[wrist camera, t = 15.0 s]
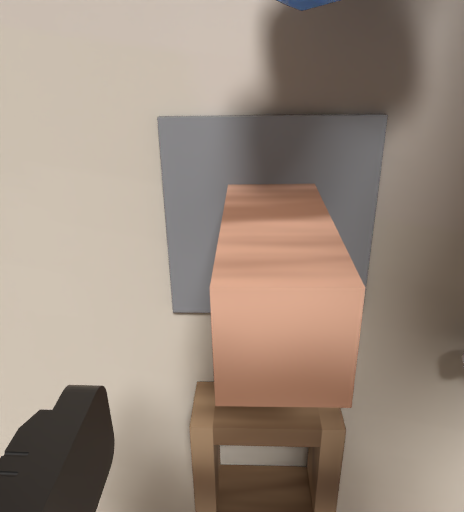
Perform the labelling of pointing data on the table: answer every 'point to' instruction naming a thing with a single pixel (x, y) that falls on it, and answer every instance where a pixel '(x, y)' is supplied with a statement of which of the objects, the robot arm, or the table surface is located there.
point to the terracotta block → (283, 301)
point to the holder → (264, 477)
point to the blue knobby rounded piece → (306, 3)
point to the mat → (263, 181)
